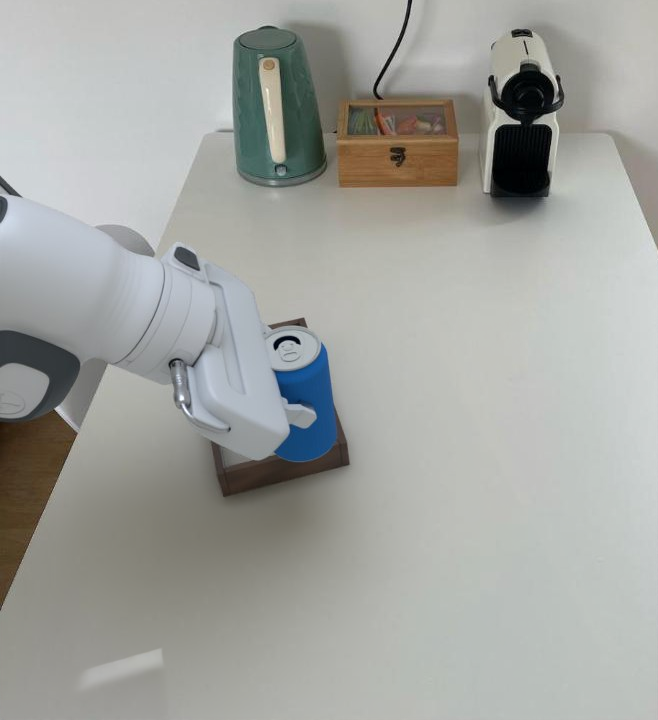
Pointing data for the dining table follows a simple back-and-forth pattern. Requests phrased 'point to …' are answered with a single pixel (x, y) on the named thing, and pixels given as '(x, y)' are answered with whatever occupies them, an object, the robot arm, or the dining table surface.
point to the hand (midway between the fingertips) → (302, 387)
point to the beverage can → (303, 389)
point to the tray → (277, 458)
